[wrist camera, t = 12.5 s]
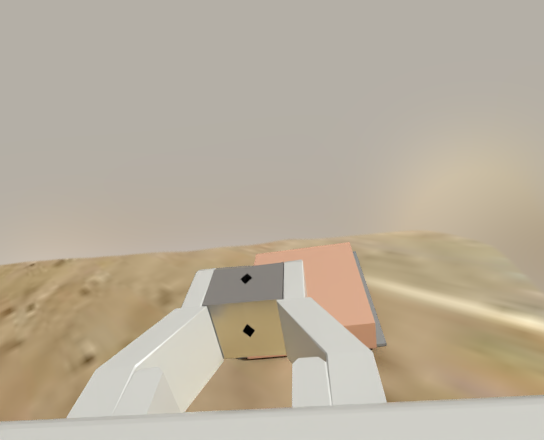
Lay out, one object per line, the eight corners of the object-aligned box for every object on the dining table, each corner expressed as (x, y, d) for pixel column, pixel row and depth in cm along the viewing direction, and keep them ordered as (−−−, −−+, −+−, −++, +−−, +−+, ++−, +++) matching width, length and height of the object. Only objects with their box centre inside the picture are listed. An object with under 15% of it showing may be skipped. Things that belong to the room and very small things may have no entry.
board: (375, 322, 28) (349, 242, 41) (240, 335, 30) (256, 254, 42) (376, 347, 29) (351, 262, 42) (247, 359, 31) (260, 273, 43)
